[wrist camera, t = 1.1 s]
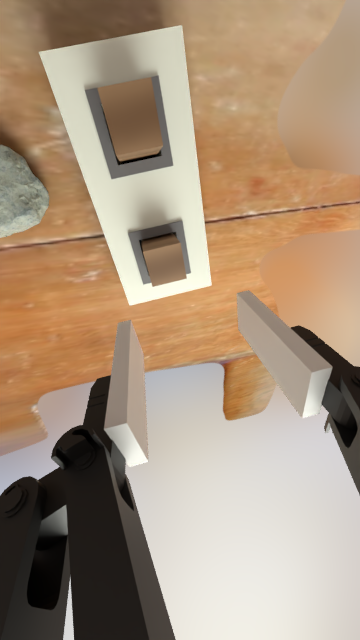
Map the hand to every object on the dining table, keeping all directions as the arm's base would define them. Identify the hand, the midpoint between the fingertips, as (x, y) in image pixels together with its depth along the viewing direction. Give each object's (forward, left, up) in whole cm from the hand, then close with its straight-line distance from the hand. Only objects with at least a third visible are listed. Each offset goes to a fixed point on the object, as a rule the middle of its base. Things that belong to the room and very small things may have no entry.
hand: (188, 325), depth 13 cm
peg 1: (-12, 0, -18) cm, 22 cm away
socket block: (-6, 0, -23) cm, 24 cm away
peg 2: (0, 0, -18) cm, 18 cm away
